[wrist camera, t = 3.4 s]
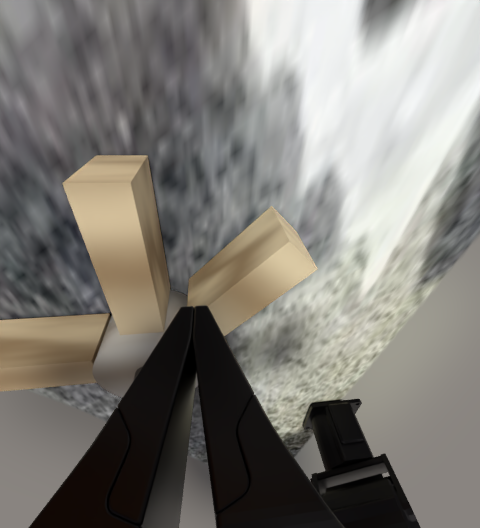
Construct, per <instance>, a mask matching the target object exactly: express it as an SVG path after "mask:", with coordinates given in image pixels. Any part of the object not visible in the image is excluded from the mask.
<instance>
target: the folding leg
mask: <svg viewBox="0 0 480 528" xmlns="http://www.w3.org/2000/svg"><path fill="white" fill-rule="evenodd" d="M316 270H317V267H316V265H315V263H314V262H313V260H312V258H311V256H310V255H309V253H308V251H307V249H306V248H305V246H304V244H303V242H302V241H301V239H300V237H299V235H298V234H297V232H296V231H295V230H294V229H293V227H292V226H291V225H290V224H289V223H288V222H287V221H286V220H285V219H284V218H283V217H282V216H281V215H280V214H279V213H278V212H277V211H276V210H275V209H274V208H273V207H272V206H271V207H270V208H269V209H268V210H267V211H265V212H264V213H263V214H262V215H261V216H260V217H259V218H257V219H256V220H255V221H254V222H253V223H252V224H251V225H250V226H248V227H247V228H246V229H245V230H244V231H243V232H242V233H241V234H239V235H238V236H237V237H236V238H235V239H234V240H233V241H232V242H230V243H229V244H228V245H227V246H226V247H225V248H224V249H222V250H221V251H220V252H219V253H218V254H217V255H216V256H215V257H213V258H212V259H211V260H210V261H209V262H208V263H207V264H206V265H204V266H203V267H202V268H201V269H200V270H199V271H198V272H196V273H195V274H194V275H193V276H192V277H191V278H190V279H189V286H188V302H187V306H193V307H194V308H195V306H201V305H207V306H208V307H209V309H210V311H211V313H212V315H213V316H214V318H215V320H216V322H217V324H218V326H219V328H220V330H221V331H222V333H223V335H224V336H226V335H227V334H228V333H230V332H231V331H233V330H234V329H235V328H237V327H238V326H239V325H241V324H242V323H244V322H245V321H246V320H248V319H249V318H251V317H252V316H253V315H255V314H256V313H258V312H259V311H260V310H262V309H263V308H264V307H266V306H267V305H269V304H270V303H271V302H273V301H274V300H276V299H277V298H278V297H280V296H281V295H283V294H284V293H285V292H287V291H288V290H290V289H291V288H292V287H294V286H295V285H296V284H298V283H299V282H301V281H302V280H303V279H305V278H306V277H308V276H309V275H310V274H312V273H313V272H315V271H316Z"/></svg>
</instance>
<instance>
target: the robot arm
mask: <svg viewBox="0 0 480 528" xmlns="http://www.w3.org/2000/svg"><path fill="white" fill-rule="evenodd" d="M196 373H197V380H198V388H199V396H200V404H201V412H202V419H203V427H204V435H205V443H206V450H207V458H208V466H209V474H210V481H211V489H212V497H213V505H214V511H215V512H214V513H215V520H216V528H420V526H419V523H418V522H417V519H416V517H415V515H414V513H413V510H412V508H411V506H410V504H409V502H408V500H407V498H406V496H405V494H404V492H403V490H402V487H401V485H400V483H399V481H398V479H397V477H396V475H395V473H394V471H393V469H392V467H391V465H390V462H389V460H388V458H387V456H386V454H381V456H378V457H373V455H372V452H371V450H370V448H369V445H368V443H367V441H366V439H365V436H364V434H363V432H362V430H361V427H360V425H359V423H358V421H357V418H356V416H355V413H356V411H357V410H358V408H359V407H360V405H361V404H362V403H361V401H360V399H352V400H343V401H333V402H324V403H315V404H312V405H311V407H310V409H309V412H308V414H307V417H306V419H305V422H304V424H303V427H304V429H313V431H314V435H315V438H316V441H317V444H318V448H319V451H320V454H321V458H322V461H323V464H324V467H325V472H321V473H314V474H312V478H311V479H310V480H311V482H310V480H309V479H308V477H307V476H306V474H305V473H304V472H303V470H302V469H301V467H300V466H299V464H298V463H297V462H296V460H295V459H294V457H293V456H292V454H291V453H290V451H289V450H288V449H287V447H286V446H285V444H284V442H283V441H282V439H281V438H280V436H279V435H278V433H277V432H276V430H275V429H274V427H273V426H272V424H271V422H270V420H269V419H268V417H267V415H266V413H265V412H264V410H263V408H262V406H261V404H260V403H259V401H258V399H257V397H256V395H254V392H253V390H252V388H251V386H250V384H249V382H248V380H247V378H246V377H245V375H244V373H243V371H242V369H241V367H240V365H239V363H238V362H237V360H236V358H235V356H234V354H233V352H232V350H231V348H230V347H229V345H228V343H227V341H226V339H225V337H224V335H223V333H222V331H221V330H220V328H219V326H218V324H217V322H216V320H215V318H214V316H213V315H212V313H211V311H210V309H209V307H208V306H207V305H201V306H195V308H194V307H193V306H185V307H181V308H180V309H179V310H178V312H177V314H176V315H175V317H174V318H173V320H172V321H171V323H170V325H169V326H168V328H167V329H166V331H165V332H164V334H163V335H162V337H161V339H160V340H159V342H158V343H157V345H156V346H155V348H154V350H153V351H152V353H151V354H150V356H149V357H148V359H147V360H146V362H145V364H144V365H143V367H142V368H141V370H140V371H139V373H138V375H137V376H136V378H135V379H134V381H133V382H132V384H131V385H130V387H129V389H128V390H127V392H126V393H125V395H124V396H123V398H122V399H121V401H120V403H119V404H118V408H116V409H115V410H114V412H113V413H112V415H111V416H110V418H109V420H108V421H107V423H106V424H105V426H104V427H103V429H102V430H101V432H100V433H99V435H98V436H97V438H96V439H95V441H94V442H93V444H92V445H91V446H90V448H89V449H88V450H87V452H86V453H85V455H84V456H83V457H82V459H81V460H80V461H79V463H78V464H77V465H76V467H75V468H74V469H73V471H72V472H71V473H70V475H69V476H68V477H67V479H66V480H65V481H64V482H63V484H62V485H61V487H60V488H59V489H58V490H57V492H56V493H55V494H54V495H53V497H52V498H51V499H50V501H49V502H48V503H47V505H46V506H45V507H44V508H43V510H42V511H41V512H40V514H39V515H38V516H37V518H36V519H35V520H34V521H33V523H32V524H31V525H30V527H29V528H179V522H180V514H181V505H182V497H183V488H184V480H185V471H186V462H187V454H188V445H189V437H190V428H191V420H192V411H193V402H194V394H195V385H196ZM386 472H388V473H389V475H390V476H388V477H384V478H383V476H382V474H383V473H386Z"/></svg>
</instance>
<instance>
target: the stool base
mask: <svg viewBox="0 0 480 528" xmlns="http://www.w3.org/2000/svg"><path fill="white" fill-rule="evenodd" d="M62 184H63V187H64V189H65V192H66V194H67V197H68V200H69V202H70V205H71V208H72V210H73V213H74V216H75V218H76V221H77V223H78V226H79V229H80V231H81V234H82V237H83V239H84V242H85V244H86V247H87V250H88V252H89V255H90V258H91V260H92V263H93V265H94V268H95V271H96V273H97V276H98V279H99V281H100V284H101V286H102V289H103V292H104V294H105V297H106V300H107V302H108V305H109V307H110V310H111V313H112V316H110V314H109V313H108V314H92V315H76V316H60V317H44V318H28V319H12V320H0V391H10V390H20V389H33V388H44V387H55V386H66V385H77V384H88V383H98V384H99V385H100V386H101V387H102V388H103V389H105V390H106V391H108V392H110V393H112V394H114V395H117V396H119V397H123V396H124V395H125V393H126V392H127V390H128V389H129V387H130V385H131V384H132V382H133V381H134V379H135V378H136V376H137V375H138V373H139V371H140V370H141V368H142V367H143V365H144V364H145V362H146V360H147V359H148V357H149V356H150V354H151V353H152V351H153V350H154V348H155V346H156V345H157V343H158V342H159V340H160V339H161V337H162V335H163V334H164V332H165V331H166V329H167V328H168V326H169V325H170V323H171V321H172V320H173V318H174V317H175V315H176V314H177V312H178V310H179V309H180V308H181V307H185V306H187V302H188V296H187V295H185V294H183V293H180V292H177V291H174V290H170V282H169V276H168V270H167V265H166V259H165V253H164V247H163V242H162V236H161V230H160V224H159V218H158V213H157V207H156V201H155V195H154V189H153V184H152V178H151V172H150V166H149V161H148V156H95V157H94V158H93V159H91V160H90V161H89V162H88V163H87V164H85V165H84V166H83V167H82V168H80V169H79V170H78V171H77V172H76V173H74V174H73V175H72V176H71V177H69V178H68V179H67V180H66V181H65V182H63V183H62ZM197 386H198V380H197V373H196V385H195V388H196V387H197Z"/></svg>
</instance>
